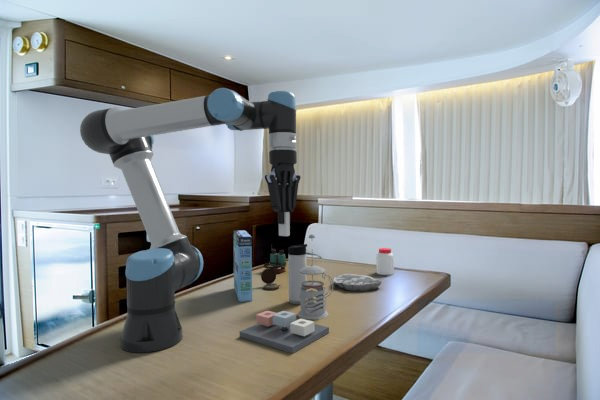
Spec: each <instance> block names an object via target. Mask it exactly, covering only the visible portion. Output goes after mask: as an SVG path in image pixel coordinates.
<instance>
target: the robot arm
mask: <svg viewBox="0 0 600 400" xmlns="http://www.w3.org/2000/svg"><path fill="white" fill-rule="evenodd" d="M296 108H297V105H296V96H295V95H294V94H293V92H290V91H286V90H276V91H275V90H274V91H271V92H269V93H268V96H267V99H266V100H263V101H250V100H248V99H246V98H245V97H244V96H242V95H240V94H239V93H238V92H237V91H235V90H233V89H229V88H226V87H219V88H216V89H215V90H213V91H212V92H211V93H210V94H208V95H202V96H197V97H192V98H191V97H190V98H187V99H185V98H184V99H180V100H173V101H169V102H163V103H156V104H152V105H145V106H140V107H134V108H129V109H120V108H118V107H110V108H104V109H98V110H94V111H92V112H90V113H88V114H87V115H86V116H85V117H84V118H83V119H82V120H81V123H80V127H79V132H80V137H81V139H82V141H83V143H84V144H85V145H86V146H87V147H88V148H89V149H91V150H92V151H94V152H96V153H100V154H106V155H109V158H110V159H111V163H112V164H113V167H114V168H117V169H119V170H120V171H121V172H122V175H123V177H124V180H125V182H126V184H127V187H128V189H129V191H130V192H129V193H130V194H131V197H132V199H133V202H134V206H135V207H136V209H137V212H138V215H139V217H140V220H141V221H142V224H143V227H144V229H145V232H146V234H147V237H148V239H149V242H150V248H149V249H146V250H140V251H137V252H134V253H132V254H131V255H129V256H128V257H127V259H126V262H125V263H126V265H125V270H124V271H125V272H124V274H125V281H126V283H125V284H126V306H127V307H126V308H127V309H126V310H127V313H126V314H127V315H126V317H125V322H124V324H123V328H122V332H121V335H120V347H121V349H122V350H124V351H127V352H131V353H151V352H156V351H162V350H165V349H168V348H171V347H173V346H175V345H177V344H178V343H180V342H181V340H183V327H182V324H181V322H180V318H179V317H178V313H177V311H176V306H175V305H176V301H175V299H176V298H175V296H176V295H175V292H177V291H178V290H181V289H183V288H184V287H185V288H186V287H187V286H190V285H191V284H193V282H195V281H196V280H197V279H198V278H199V277H200V275H202V274H201V273H202V272H203V268H204V258H203V255H202V253H201V251H200V250H199V249H198V248H197V247H195V246H194V245H192V244H191V243H190V241H189V238H188V236H187V235H184V234H182V233H181V232H180V230H179V228H178V225H177V222H176V220H175V217H174V215H173V213H172V210H171V208H170V205H169V202H168V200H167V198H166V195H165V193H164V191H163V188H162V185H161V184H160V183H161V182H160V180H159V179H158V178H159V177H158V175H157V173H156V171H155V169H154V165H153V163H152V159H153V156H154V152H153V145H154V141H155V140H154V136H158V135H165V134H169V133H170V134H171V133H176V132H182V131H189V130H194V129H195V130H196V129H199V128H208V127H213V126H220V125H226V127H227V129H229V130H231V131H240V132H242V131H249V130H250V131H252V130H268V149H270V151H269V153H268V155H269V157H268V159H269V162H268V163H269V165H271V169H270V173H268V174H265V175H264V179H265V182H266V183H267V189H268V194H269V195H268V196H269V201H270V206H271V210H272V211H274V213H277V224H278V236H279V237H289V236H290V235H291V232H290V231H291V230H290V229H291V225H290V224H291V213H293V212H294V210H295V209H296V207H297V198H298V191H299V183H300V180H301V178H302V177H301V175H299V174H298V175H297V174H296V173H295V172H296V170H295V165H296V164H297V161H298V160H297V158H298V157H297V156H298V155H297V150H295V149H297V109H296Z"/></svg>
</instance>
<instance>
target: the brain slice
mask: <svg viewBox="0 0 600 400" xmlns="http://www.w3.org/2000/svg"><path fill="white" fill-rule="evenodd" d="M332 280H333V283H334V284H335V285H337V286H338V287H339V288H340V289H345V290H347V291H352V292H353V291H355V292H356V291H360V292H361V291H363V292H364V291H365V292H366V291H371V290H376V289H378V288H379V287H380V286H381V284H382V280H380V279H377V278H374V277H372V276H368V275H362V274H353V273H344V274H338V275H334V277H333V279H332Z"/></svg>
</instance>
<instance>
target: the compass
mask: <svg viewBox="0 0 600 400" xmlns="http://www.w3.org/2000/svg"><path fill="white" fill-rule="evenodd" d="M260 279H261V281H262V282H263V283H264V285H263V286H262V288H263V290H266V291H275V290H278V289H279V288H280V287H281V284H277V283H274V282H275V281H276V279H277V274H276V273H275V271H274V270H273V269H270V268H265V269H263V270H262V271H261V273H260Z"/></svg>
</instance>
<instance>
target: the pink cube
mask: <svg viewBox="0 0 600 400" xmlns="http://www.w3.org/2000/svg"><path fill="white" fill-rule="evenodd" d="M276 313H277V312H275V311H270V310H265V311H262V312H259V313H256V315H255V318H256V319H255V320H256V321H255V322H256V324H261V325H264V326H268V327H269V326H271V325H273V315H274V314H276Z"/></svg>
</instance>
